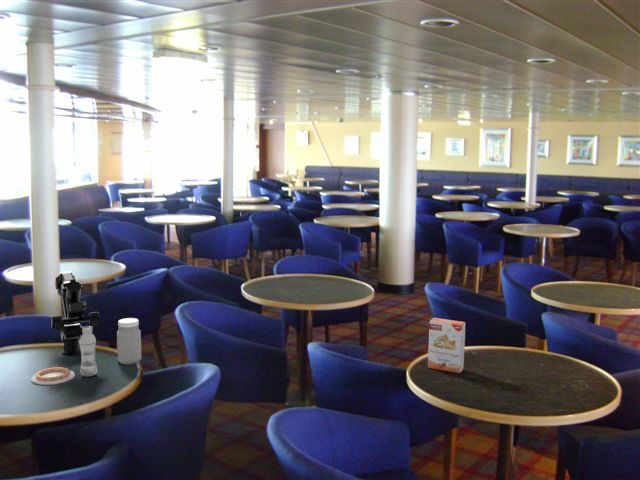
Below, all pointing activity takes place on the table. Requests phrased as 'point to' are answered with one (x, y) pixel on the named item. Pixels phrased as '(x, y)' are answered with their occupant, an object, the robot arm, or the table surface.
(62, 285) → the robot arm
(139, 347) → the jar
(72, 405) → the table surface
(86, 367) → the plastic bottle
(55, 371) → the white orange plate
